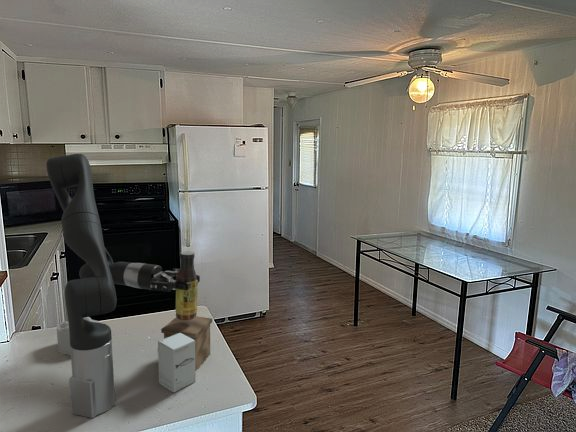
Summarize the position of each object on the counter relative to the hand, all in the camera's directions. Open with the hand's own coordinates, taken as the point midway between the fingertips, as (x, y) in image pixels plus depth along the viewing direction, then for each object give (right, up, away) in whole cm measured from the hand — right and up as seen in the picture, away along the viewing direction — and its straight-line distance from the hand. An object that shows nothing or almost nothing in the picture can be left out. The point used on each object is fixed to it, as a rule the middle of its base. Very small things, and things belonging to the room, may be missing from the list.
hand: (193, 282), depth 120 cm
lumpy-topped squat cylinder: (-40, -23, +12) cm, 48 cm away
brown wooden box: (-3, -25, +5) cm, 25 cm away
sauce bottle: (-3, -11, +3) cm, 11 cm away
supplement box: (-3, -27, -7) cm, 28 cm away
